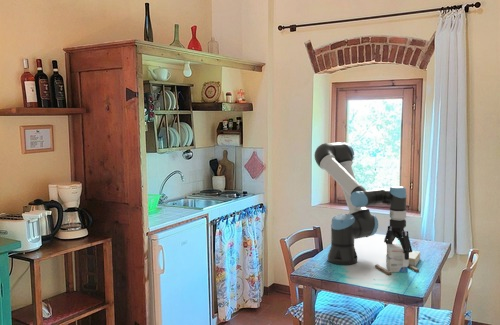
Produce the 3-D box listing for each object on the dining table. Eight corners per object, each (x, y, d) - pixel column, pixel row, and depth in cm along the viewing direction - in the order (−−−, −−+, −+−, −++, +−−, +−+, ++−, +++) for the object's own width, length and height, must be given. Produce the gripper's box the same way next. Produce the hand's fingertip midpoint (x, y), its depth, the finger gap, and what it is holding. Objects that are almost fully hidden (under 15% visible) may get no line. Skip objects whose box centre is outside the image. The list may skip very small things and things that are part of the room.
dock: (386, 262, 235) (386, 254, 234) (392, 255, 247) (392, 247, 246) (415, 266, 228) (415, 258, 227) (420, 259, 240) (420, 251, 239)
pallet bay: (375, 267, 228) (375, 264, 228) (404, 264, 232) (404, 261, 232) (388, 275, 216) (388, 272, 216) (418, 271, 221) (419, 269, 220)
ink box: (403, 266, 228) (404, 243, 227) (407, 272, 220) (408, 248, 218) (385, 266, 229) (386, 243, 228) (389, 272, 221) (389, 248, 219)
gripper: (377, 214, 233) (377, 255, 235) (406, 224, 209) (405, 270, 211) (390, 213, 235) (390, 253, 237) (420, 223, 211) (419, 268, 213)
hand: (397, 261), depth 224 cm, fingers open, 13 cm apart
